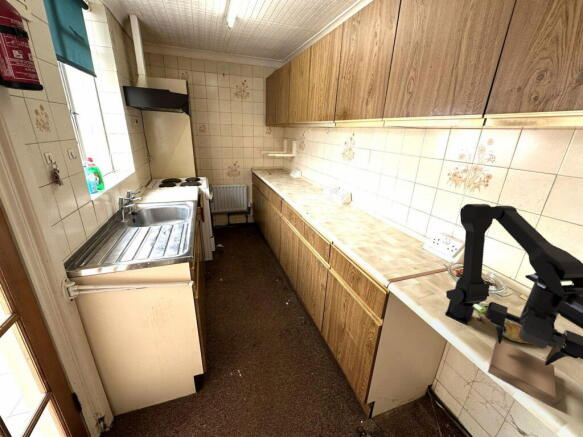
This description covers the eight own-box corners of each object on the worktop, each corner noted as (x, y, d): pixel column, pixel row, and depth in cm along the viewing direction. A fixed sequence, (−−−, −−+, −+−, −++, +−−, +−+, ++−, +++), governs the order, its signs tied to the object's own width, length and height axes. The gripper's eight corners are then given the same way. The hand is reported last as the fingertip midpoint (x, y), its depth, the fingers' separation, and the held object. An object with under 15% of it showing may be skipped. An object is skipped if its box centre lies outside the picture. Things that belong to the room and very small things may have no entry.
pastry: (527, 332, 79) (532, 323, 78) (542, 348, 73) (547, 338, 72) (494, 325, 81) (498, 316, 80) (505, 340, 75) (509, 330, 74)
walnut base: (487, 372, 65) (491, 363, 64) (493, 346, 73) (496, 339, 72) (550, 406, 57) (555, 397, 56) (549, 373, 66) (554, 365, 65)
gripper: (490, 300, 60) (473, 349, 65) (609, 345, 48) (576, 401, 53) (496, 282, 68) (480, 327, 73) (600, 317, 55) (572, 368, 61)
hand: (521, 352), depth 65 cm, fingers open, 9 cm apart
